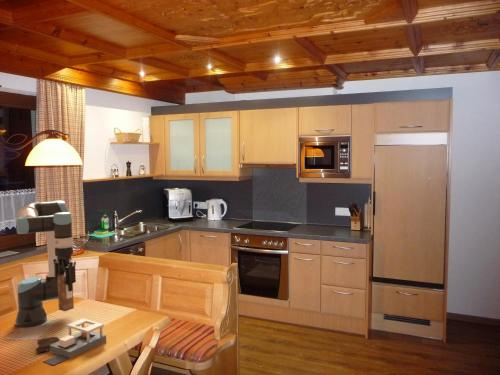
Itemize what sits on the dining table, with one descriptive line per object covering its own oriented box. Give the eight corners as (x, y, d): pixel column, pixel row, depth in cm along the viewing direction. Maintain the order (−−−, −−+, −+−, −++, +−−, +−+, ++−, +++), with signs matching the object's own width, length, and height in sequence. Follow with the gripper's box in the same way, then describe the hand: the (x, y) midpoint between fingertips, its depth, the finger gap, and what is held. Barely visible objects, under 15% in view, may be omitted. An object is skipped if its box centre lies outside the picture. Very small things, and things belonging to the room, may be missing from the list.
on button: (59, 345, 188) (59, 339, 188) (69, 341, 192) (68, 335, 192) (65, 347, 186) (64, 341, 186) (74, 343, 190) (74, 336, 190)
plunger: (79, 336, 197) (79, 328, 197) (86, 333, 200) (86, 325, 200) (85, 337, 195) (84, 329, 195) (91, 335, 198) (91, 326, 198)
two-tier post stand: (49, 351, 190) (48, 332, 189) (86, 334, 207) (85, 317, 206) (70, 358, 182) (69, 339, 182) (106, 341, 199) (106, 323, 199)
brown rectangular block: (58, 309, 190) (57, 275, 189) (67, 306, 194) (66, 272, 192) (64, 311, 187) (63, 276, 186) (73, 308, 191) (72, 274, 190)
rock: (36, 355, 186) (35, 347, 186) (37, 346, 196) (36, 338, 196) (63, 350, 191) (63, 342, 191) (62, 341, 201) (62, 334, 200)
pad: (43, 361, 180) (43, 361, 180) (57, 355, 186) (57, 354, 186) (53, 365, 176) (53, 364, 176) (68, 358, 182) (68, 358, 182)
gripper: (44, 246, 190) (46, 295, 192) (68, 250, 181) (70, 302, 182) (59, 243, 196) (61, 291, 198) (83, 247, 187) (85, 297, 189)
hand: (65, 296), depth 190 cm, fingers closed on brown rectangular block, 4 cm apart
